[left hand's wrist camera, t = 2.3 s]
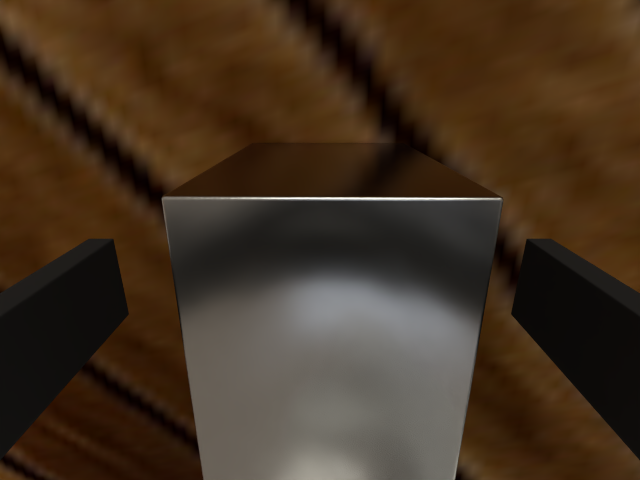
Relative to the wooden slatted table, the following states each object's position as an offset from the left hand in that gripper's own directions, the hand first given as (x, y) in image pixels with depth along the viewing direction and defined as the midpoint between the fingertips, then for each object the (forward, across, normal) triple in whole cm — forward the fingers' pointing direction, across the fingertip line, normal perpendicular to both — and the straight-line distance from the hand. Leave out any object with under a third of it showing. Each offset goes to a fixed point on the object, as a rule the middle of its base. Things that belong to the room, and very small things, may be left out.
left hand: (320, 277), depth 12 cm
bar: (+3, 0, -7) cm, 8 cm away
